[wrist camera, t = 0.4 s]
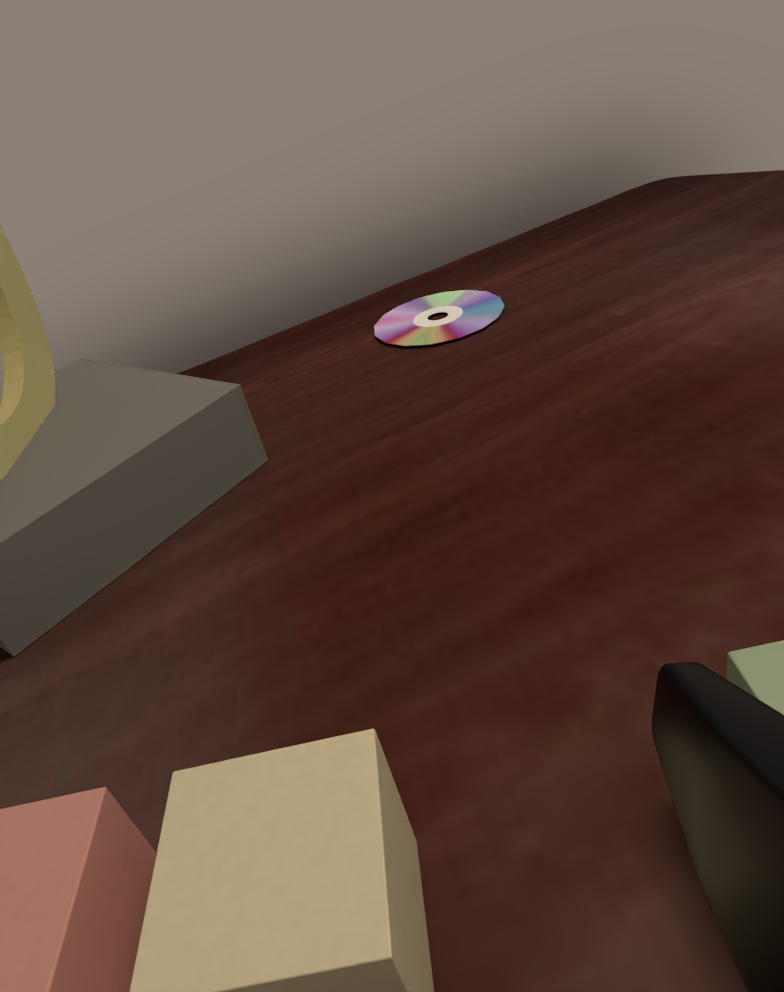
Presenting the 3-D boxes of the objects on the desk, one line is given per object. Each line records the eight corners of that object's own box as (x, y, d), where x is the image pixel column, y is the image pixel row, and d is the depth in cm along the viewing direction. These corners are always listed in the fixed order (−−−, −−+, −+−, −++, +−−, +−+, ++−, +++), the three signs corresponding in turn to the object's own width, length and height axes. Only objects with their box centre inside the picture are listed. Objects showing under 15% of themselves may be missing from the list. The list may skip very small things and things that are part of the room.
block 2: (442, 1060, 19) (392, 957, 15) (220, 1101, 19) (124, 1009, 16) (416, 841, 24) (374, 727, 20) (242, 876, 24) (172, 771, 21)
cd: (349, 329, 63) (349, 328, 63) (449, 283, 67) (449, 282, 67) (423, 358, 54) (423, 357, 54) (532, 303, 58) (532, 302, 58)
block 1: (149, 1115, 19) (38, 1027, 16) (-63, 1155, 19) (-215, 1077, 16) (184, 888, 24) (106, 785, 21) (16, 923, 24) (-89, 827, 21)
